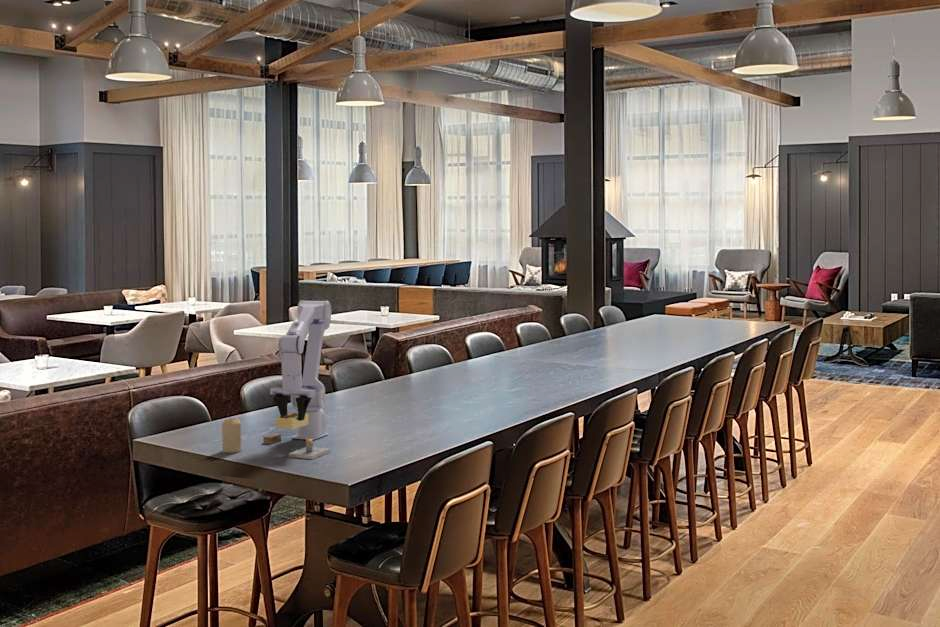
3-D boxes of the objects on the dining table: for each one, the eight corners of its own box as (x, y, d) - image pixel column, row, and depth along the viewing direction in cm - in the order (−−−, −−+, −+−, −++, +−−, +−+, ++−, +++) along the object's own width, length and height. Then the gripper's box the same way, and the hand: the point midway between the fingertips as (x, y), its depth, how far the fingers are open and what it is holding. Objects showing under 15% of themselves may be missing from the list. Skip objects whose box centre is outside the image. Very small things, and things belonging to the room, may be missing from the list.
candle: (243, 448, 306) (242, 416, 305) (239, 452, 301) (238, 419, 300) (224, 448, 306) (223, 416, 305) (220, 453, 301) (220, 419, 300)
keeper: (307, 449, 305) (307, 434, 304) (330, 452, 302) (330, 437, 301) (288, 456, 296) (288, 441, 295) (312, 459, 292) (311, 444, 292)
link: (292, 422, 311) (292, 412, 311) (308, 424, 309) (308, 413, 309) (276, 428, 303) (275, 417, 303) (291, 429, 301) (291, 418, 300)
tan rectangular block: (272, 439, 319) (272, 433, 318) (280, 440, 317) (280, 434, 317) (263, 443, 314) (263, 436, 314) (271, 443, 313) (271, 437, 313)
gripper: (263, 375, 304) (264, 419, 305) (305, 378, 298) (305, 423, 299) (277, 371, 310) (278, 415, 312) (318, 374, 304) (318, 419, 306)
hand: (292, 419), depth 306 cm, fingers closed on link, 6 cm apart
